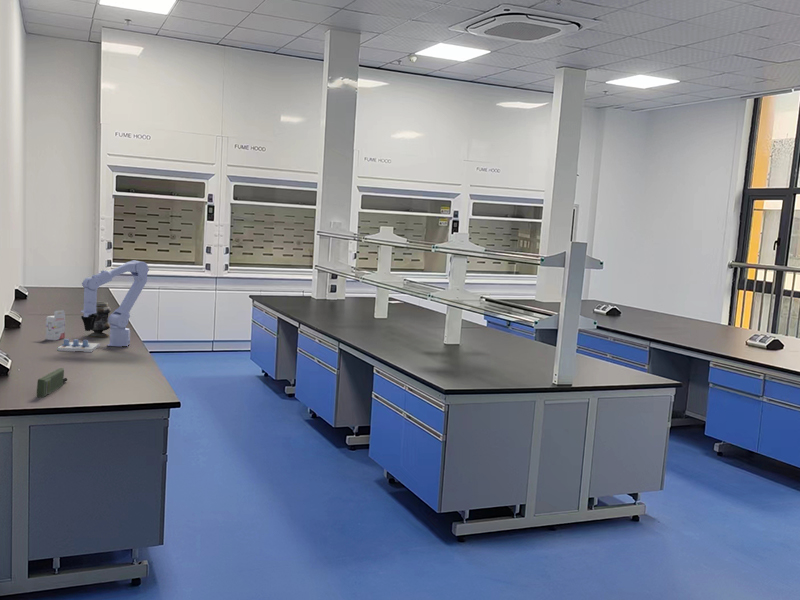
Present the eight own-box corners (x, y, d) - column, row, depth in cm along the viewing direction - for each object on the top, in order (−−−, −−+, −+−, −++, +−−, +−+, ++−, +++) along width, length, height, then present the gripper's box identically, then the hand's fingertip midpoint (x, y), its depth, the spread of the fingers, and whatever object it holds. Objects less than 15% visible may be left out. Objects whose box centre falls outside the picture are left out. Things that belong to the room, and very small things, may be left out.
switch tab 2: (80, 345, 347) (80, 339, 347) (78, 346, 345) (78, 340, 344) (73, 344, 347) (73, 339, 347) (71, 345, 344) (71, 339, 344)
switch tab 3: (89, 345, 348) (89, 339, 348) (88, 346, 345) (88, 340, 345) (82, 345, 348) (82, 339, 347) (81, 346, 345) (81, 340, 345)
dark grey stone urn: (109, 334, 394) (110, 301, 393) (110, 337, 384) (112, 304, 382) (85, 333, 389) (86, 300, 387) (86, 337, 378) (87, 303, 377)
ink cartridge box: (56, 337, 372) (57, 308, 371) (64, 338, 371) (65, 309, 370) (45, 339, 364) (45, 310, 363) (53, 340, 363) (54, 311, 362)
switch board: (99, 346, 356) (99, 343, 356) (91, 352, 341) (91, 348, 340) (67, 345, 354) (67, 341, 354) (57, 350, 338) (57, 347, 338)
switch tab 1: (70, 344, 347) (71, 338, 346) (69, 345, 344) (69, 339, 344) (63, 344, 346) (63, 338, 346) (62, 345, 343) (62, 339, 343)
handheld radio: (34, 397, 254) (60, 382, 279) (44, 398, 254) (69, 383, 279) (36, 378, 254) (62, 365, 278) (45, 379, 254) (71, 366, 279)
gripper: (85, 300, 357) (84, 327, 358) (77, 303, 343) (76, 331, 344) (100, 301, 358) (99, 328, 359) (93, 304, 344) (91, 332, 345)
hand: (89, 330), depth 352 cm, fingers open, 4 cm apart
